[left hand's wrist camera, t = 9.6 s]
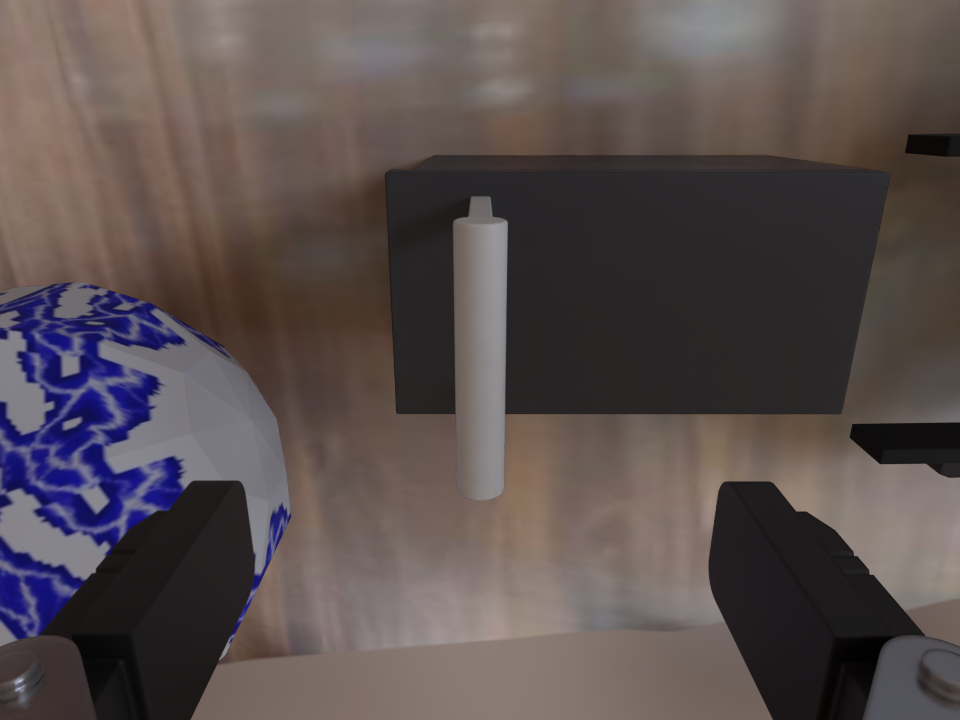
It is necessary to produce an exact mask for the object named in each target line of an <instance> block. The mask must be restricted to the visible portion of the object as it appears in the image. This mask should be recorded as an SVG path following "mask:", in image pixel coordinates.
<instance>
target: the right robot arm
mask: <svg viewBox="0 0 960 720" xmlns="http://www.w3.org/2000/svg"><path fill="white" fill-rule="evenodd" d="M905 153H911V154H922V155H933V156H944V157H955V156H960V134H913V135H908V140H907V145H906V150H905ZM850 438H851V439H852V440H853V441H854V442H855V443H856V444H858V445H859V446H860V447H861V448H862V449H863V450H864V451H866V452H867V453H868V454H869V455H870V456H871V457H872V458H874V459H875V460H876V461H877V462H878V463H879V464H927V465H929V466H930V467H931V468H932V469H934V470H935V471H936V472H938V473H939V474H941V475H943V476H946V477H949V478H956V477H960V422H959V423H891V424H852V428H851V434H850Z"/></svg>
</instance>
